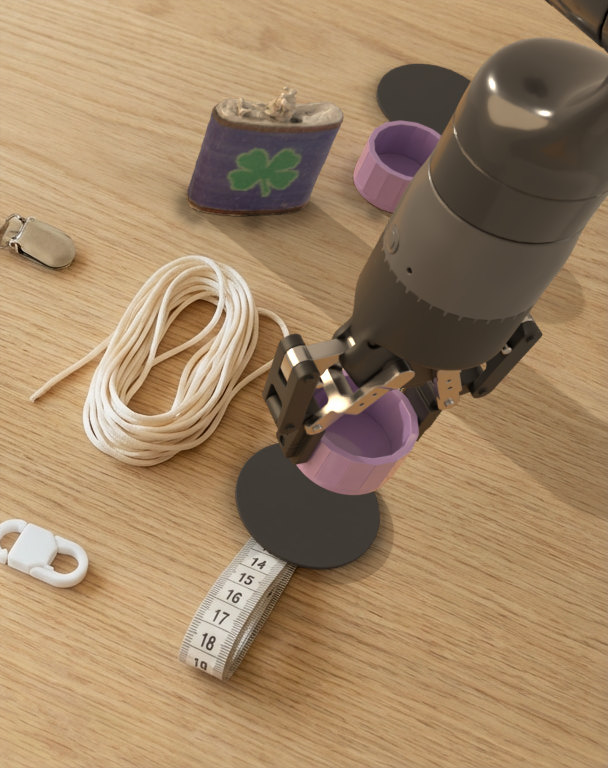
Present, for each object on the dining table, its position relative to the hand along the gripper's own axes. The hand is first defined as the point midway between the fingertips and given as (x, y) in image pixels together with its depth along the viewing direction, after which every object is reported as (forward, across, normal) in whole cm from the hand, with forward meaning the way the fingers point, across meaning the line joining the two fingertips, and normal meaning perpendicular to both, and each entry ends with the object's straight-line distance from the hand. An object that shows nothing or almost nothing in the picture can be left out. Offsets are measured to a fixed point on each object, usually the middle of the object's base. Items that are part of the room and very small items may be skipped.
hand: (347, 439), depth 70 cm
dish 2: (+1, 0, 0) cm, 1 cm away
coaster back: (+8, +25, +32) cm, 41 cm away
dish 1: (+8, +18, +24) cm, 31 cm away
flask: (+8, +6, +25) cm, 27 cm away
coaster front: (+8, 0, 0) cm, 8 cm away
